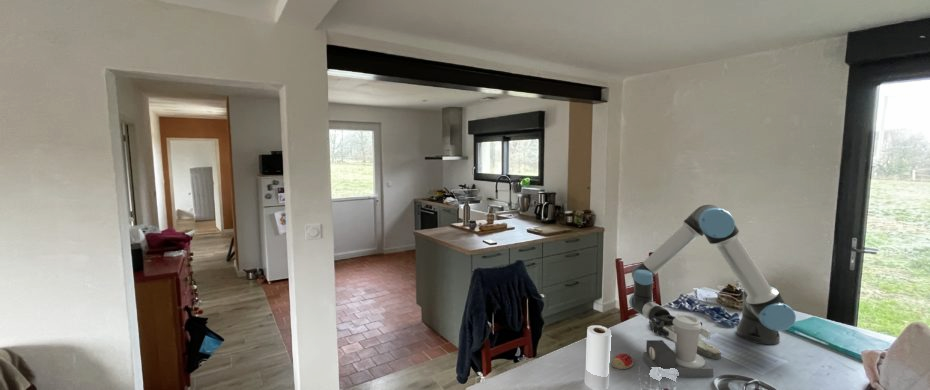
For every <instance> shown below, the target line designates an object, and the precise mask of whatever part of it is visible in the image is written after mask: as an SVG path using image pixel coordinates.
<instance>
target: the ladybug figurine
mask: <svg viewBox="0 0 930 390" xmlns="http://www.w3.org/2000/svg"><path fill="white" fill-rule="evenodd" d="M611 365H612V367H614V368H615V369H618V370H627V369H630V368H631V367H633V365H634V360H633V359H632V356H631V355H630V354H629V353H619V354H617V355H615V356H614V357H613V359H612V360H611Z"/></svg>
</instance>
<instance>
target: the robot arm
mask: <svg viewBox="0 0 930 390" xmlns="http://www.w3.org/2000/svg"><path fill="white" fill-rule="evenodd" d="M739 234H740V230H739V228H738V227H737V226H736V223H735V219H734V217H733V215H732V214H731V213H730V211H728V210H726V209H725V208H722V207H718V206H716V205H713V204H705V205H704V204H703V205H700V206H699V207H697V208H696V209H695V210H694V211H693V212H692V213H690V214H689V215H688V216H687V217H686V219H684V220H683V221H682V226H680V227H679V228H678V229H677V230H676V231H675V232H674V233H673V234H672V235H670V236H669V237H668V239H666V240H665V241H664V242H663V243H662V244H661V245H660V246H659V247H657V249H655V250H654V251H653V252H652V253H651V254H650V255H649V256H648V257H647V258H646V259H645V260H644V261H643V262H641V263H640V264H639V265H636V266H634V267H633V268H632V270H631V278H632V281H633V291H634V292H633V294H632V295H630V298H629V301H628V303H629V306H630V307H631V309H633V310H634V311H635V312H636V313H638V314H640V315H641V316H643V317H645V318H646V319H648V323H649V324H650V326H651V328H652V332H653V333H654V334H657V333H658V335H659V336H663V335H664V336H666V337H667V338H669V339H670V340H672V341H673V342H674V343H675V342H676V341H677V334H675V333H674V332H672V331H671V330H669V329H668V328H666V327H665V325H667V326H672V325H673V326H674V324H673V319H674V318H675V316H674V315H671V314H670V312H669V310H668V309H667V308H664V307H662V306H661V305H659V304H658V303H656V302H654V301H653V287H654V283H653V282H654V278H653V277H655V275H656V274H657V273H659V272H660V271H661V270H662V269H663V268H664V267H665V266H666V265H667V264H669V263H670V262H671V261H672V260H674V258H675V257H676V256H678V255H679V254H680V253H681V252H682V251H683V250H684V249H685V248H686V247H688V246H689V245H690V244H691V243H693V241H695V240H696V239H697V238H701V237H702V236H704V237H705V238H706V240H707V242H708V243H709V244H710V245H713V246H715V247H716V249H717V250H718V251H719V253H720V254H721V256H722V258H723V259H724V260H725V262H726V264H727V266H729V269H730V270H731V272H732V273H733V275H734V276H735V278H736V279H737V281H738V282H739V284H740V286H741V288H742V289H743V290H742V310H741V311H742V313H741V315H742V316H741V318H740V320H739V322H738V325H737V326H736V334H737V335H738V336H739V337H741V339H744V340H748V341H749V342H753V343H757V344H762V345H778V344H779V343H780V341H781V337H780V336H781V335H780V333H779V332H781V331H782V332H784V331H786V330H788V329H790V328H791V327H793V326H794V325H795V322H796V320H797V317H796V313H795V311H794V309H793V308H792V307H791V306H790V305H788V304H787V303H786V301H785V299H784V298H783V296H782V295H781V293H780V291H778V289H777V288H776V287H773V286H771V285H770V284H769V283H768V281H767V280H766V278H765V277H764V275H763V273H762V271H761V270H760V268H759V267H758V265H757V264H756V263H755V261H754V260H753V258H752V257H751V255H750V253H749V252H748V250H747V249H746V247H745V246H744V244H743V242H742V241H741V239H740V238H739ZM700 323H701V325H702V328H701V329H700V333H699V335H701V336H703V337H704V338H706V339H709V340H710V339H711V331H710V330H708V329H707V328H704V327H703V322H701V321H700ZM657 325H658V326H659V327H657Z"/></svg>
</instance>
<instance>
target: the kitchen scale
mask: <svg viewBox="0 0 930 390" xmlns="http://www.w3.org/2000/svg"><path fill="white" fill-rule="evenodd" d="M645 347H646V350H645V351H642V360H643V361H644V362H645V363H646V365H647V366H648V367H649V368H650V367H661V368H663V369H670V368H675V369H677V370H678V372H679V376H678V377H704V378H705V377H706V378H707V377H709V378H711V377H714V368H713V367H712V365H710V364H709V363H708V362H707V361H706V360H705V359H704V357H703V356H702V355H700V354H698V353H696V360H695V361H693V362H687V361H683V360H680V359H679V358H677V357H676V351H675V349H672V348H671V347H670V346H668V345H667V344H666V342H665V341H664V340H660V339H659V340H654V339H651V340H649V339H648V340H647V339H646V345H645Z"/></svg>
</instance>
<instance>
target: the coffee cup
mask: <svg viewBox="0 0 930 390" xmlns="http://www.w3.org/2000/svg"><path fill="white" fill-rule="evenodd" d="M674 317H675V318H674V319H673V324H674V333H675V334H677V341H676V342H674V348H675V349H674V350H675V351H676V357H677V358H679V359H680V360H683V361H687V362H693V361H695V360H696V354H698V352H697V346H698V340H699V338H700V334H699V333H700V329H701V328H702V327H703V324H702V325H701V323H702V322H701V320H699V318H697V317H694V316H691V315H688V314H677V315H675V316H674ZM700 322H701V323H700Z"/></svg>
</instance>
